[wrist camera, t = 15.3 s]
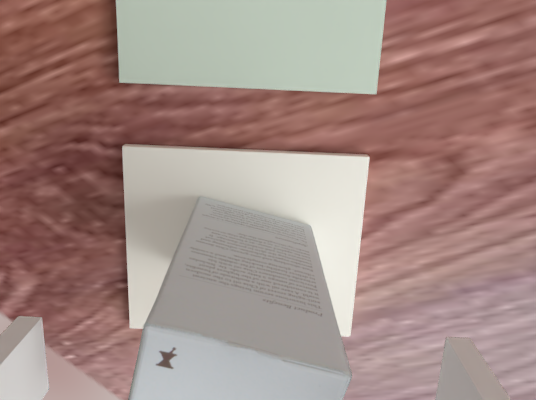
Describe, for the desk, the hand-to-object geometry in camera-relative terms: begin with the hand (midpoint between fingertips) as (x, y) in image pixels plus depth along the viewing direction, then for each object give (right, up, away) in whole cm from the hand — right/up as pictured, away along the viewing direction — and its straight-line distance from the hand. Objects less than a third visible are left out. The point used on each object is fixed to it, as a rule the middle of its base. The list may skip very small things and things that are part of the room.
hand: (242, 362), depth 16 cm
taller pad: (0, +3, +10) cm, 10 cm away
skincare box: (0, +3, +9) cm, 10 cm away
